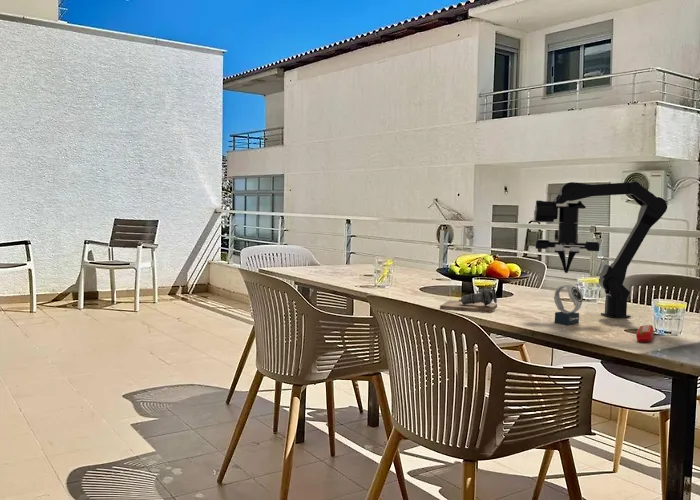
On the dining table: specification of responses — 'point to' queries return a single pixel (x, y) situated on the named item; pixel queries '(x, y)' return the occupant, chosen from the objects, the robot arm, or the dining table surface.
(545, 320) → the dining table surface
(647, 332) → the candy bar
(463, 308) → the walnut board
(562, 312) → the watch
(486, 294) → the dark grey tall piece
